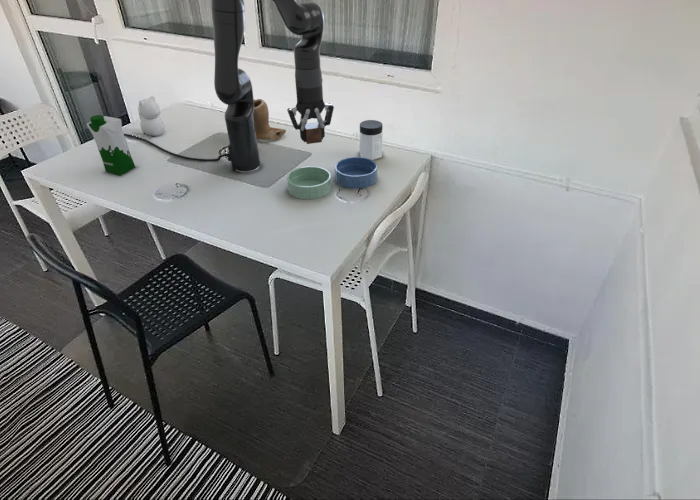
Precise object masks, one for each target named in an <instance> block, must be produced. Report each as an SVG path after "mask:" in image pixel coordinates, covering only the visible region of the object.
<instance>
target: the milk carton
mask: <svg viewBox="0 0 700 500" xmlns="http://www.w3.org/2000/svg"><path fill="white" fill-rule="evenodd" d="M89 120H90V121H89V122H87V123H86V126H87V128H88V130H89V131H90V134H91V135H92V137H93V140H94V142H95V144H96V147H97V149H98V152H99V155H100V157H101V161H102V164H103V167H104V170H105V173H108V174H111V175H116V176H119V177H121V176H123V175H125V174H126V173H128V172H130V171H132V170H134V169H136V164H135V162H134V160H133V157H132V155H131V152H130V149H129V146H128V143H127V139H126V136H124V134H125V133H124V130H123V123H122V118H118V117H112V116H106V115H102V114H96V115H93V116H90V117H89Z"/></svg>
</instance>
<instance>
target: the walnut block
mask: <svg viewBox="0 0 700 500" xmlns="http://www.w3.org/2000/svg"><path fill="white" fill-rule="evenodd" d="M305 132H306V142H305V143H306V145H310V144H311V145H312V144H319V143H323V140H322V133H321V127H320V125H319V123H318V121H316V122H307V124H306V126H305Z"/></svg>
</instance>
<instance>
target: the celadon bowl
mask: <svg viewBox="0 0 700 500" xmlns="http://www.w3.org/2000/svg"><path fill="white" fill-rule="evenodd" d="M286 185H287V191H288V194H289V195H291V196H292V197H293V198H296V199H301V200H314V199H315V200H316V199H320V198H323V197H325V196H326V195H329V193H330V192H331V191H332V174H331V172H330V170H328V169H327V168H323V167H321V166H315V165H314V166H313V165H312V166H308V165H307V166H302V167H297V168H295V169H293V170H291V171H289V173H288V174H287V175H286Z"/></svg>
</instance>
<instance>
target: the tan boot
mask: <svg viewBox="0 0 700 500" xmlns="http://www.w3.org/2000/svg"><path fill="white" fill-rule="evenodd" d="M253 119H254V125H255V132H256V139H257V140H263V141H276V140H279V139H281V138H282V137H283V136H284V135H285V134H286V133H287V130H286V129H284V128H277V127H271V125H270V121H269V120H270V113H269V107H268V104H267V103H266V101H264V100H263V99H261V98H257V99H254V113H253Z"/></svg>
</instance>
